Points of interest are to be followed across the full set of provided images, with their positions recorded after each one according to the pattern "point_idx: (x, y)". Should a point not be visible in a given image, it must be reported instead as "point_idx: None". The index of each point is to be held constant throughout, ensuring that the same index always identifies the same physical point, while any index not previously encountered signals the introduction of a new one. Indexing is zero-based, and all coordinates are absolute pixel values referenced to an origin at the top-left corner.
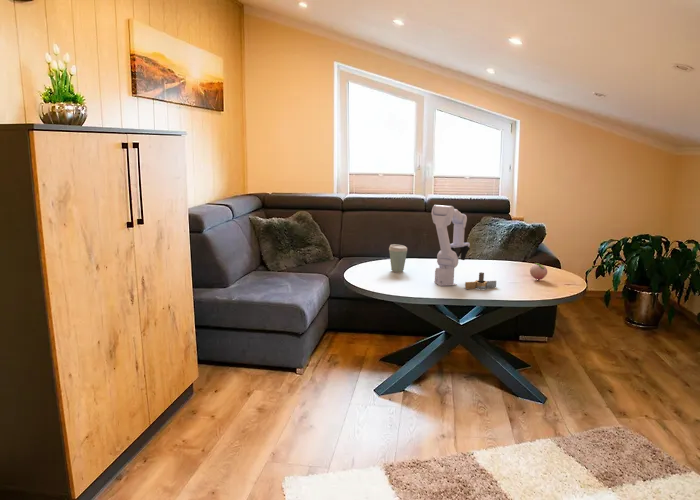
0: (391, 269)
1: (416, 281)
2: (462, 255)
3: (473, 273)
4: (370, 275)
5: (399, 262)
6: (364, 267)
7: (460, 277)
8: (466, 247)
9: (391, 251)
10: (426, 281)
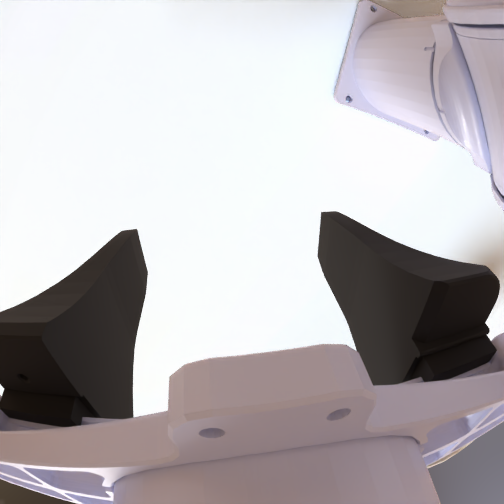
0: None
1: (477, 200)
2: (129, 295)
3: (36, 244)
4: (495, 324)
5: None
6: None
7: (173, 174)
8: (38, 374)
9: None
10: (448, 177)
